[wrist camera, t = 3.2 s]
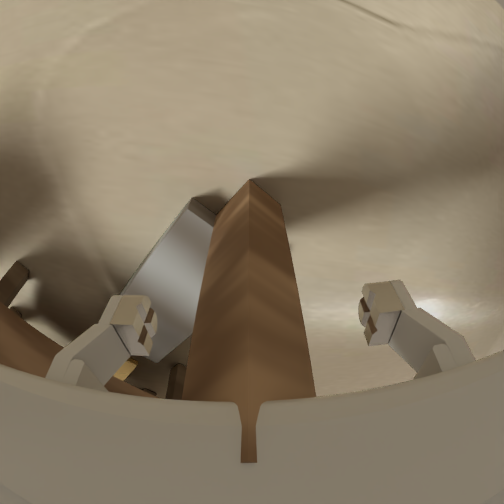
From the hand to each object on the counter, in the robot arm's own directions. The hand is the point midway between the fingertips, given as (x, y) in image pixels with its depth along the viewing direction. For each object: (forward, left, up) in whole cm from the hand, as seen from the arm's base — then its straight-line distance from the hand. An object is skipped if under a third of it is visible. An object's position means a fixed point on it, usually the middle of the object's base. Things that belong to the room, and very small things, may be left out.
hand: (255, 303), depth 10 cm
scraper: (-7, 0, -8) cm, 11 cm away
